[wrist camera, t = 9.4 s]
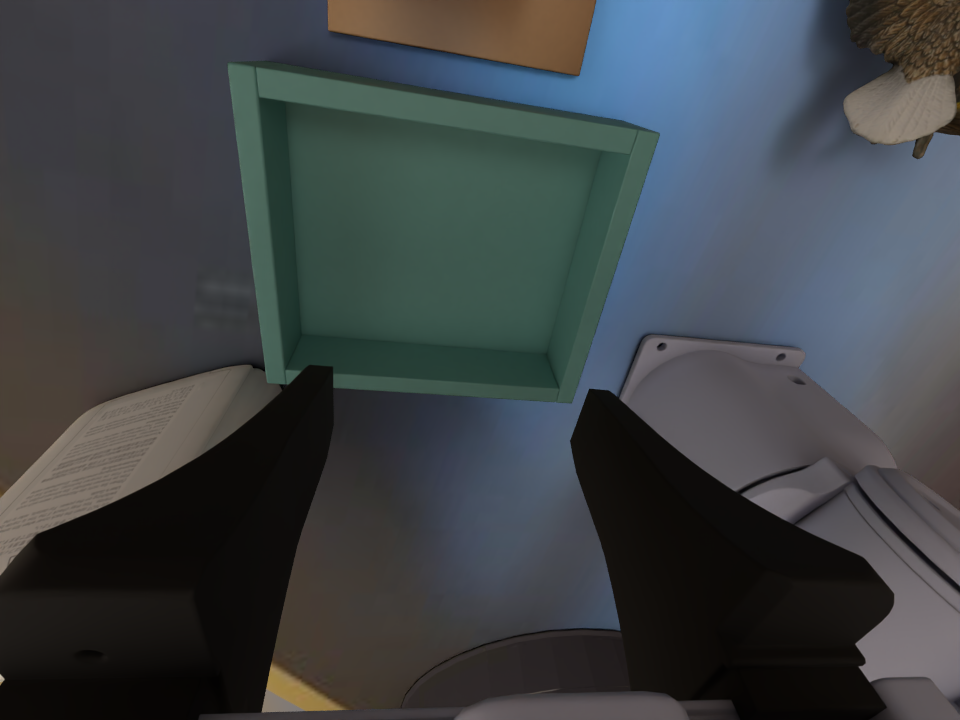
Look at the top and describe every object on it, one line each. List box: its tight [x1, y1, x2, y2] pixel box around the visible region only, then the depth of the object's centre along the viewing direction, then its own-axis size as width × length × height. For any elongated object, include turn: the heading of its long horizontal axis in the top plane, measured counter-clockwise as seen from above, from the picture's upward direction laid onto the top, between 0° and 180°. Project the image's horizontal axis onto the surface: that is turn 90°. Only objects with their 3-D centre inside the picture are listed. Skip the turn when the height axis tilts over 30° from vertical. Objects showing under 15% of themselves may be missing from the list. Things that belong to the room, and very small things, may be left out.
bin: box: [228, 61, 660, 403], centre depth 19 cm, size 14×12×4 cm
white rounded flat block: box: [0, 365, 282, 682], centre depth 19 cm, size 10×4×12 cm, turn 105°
